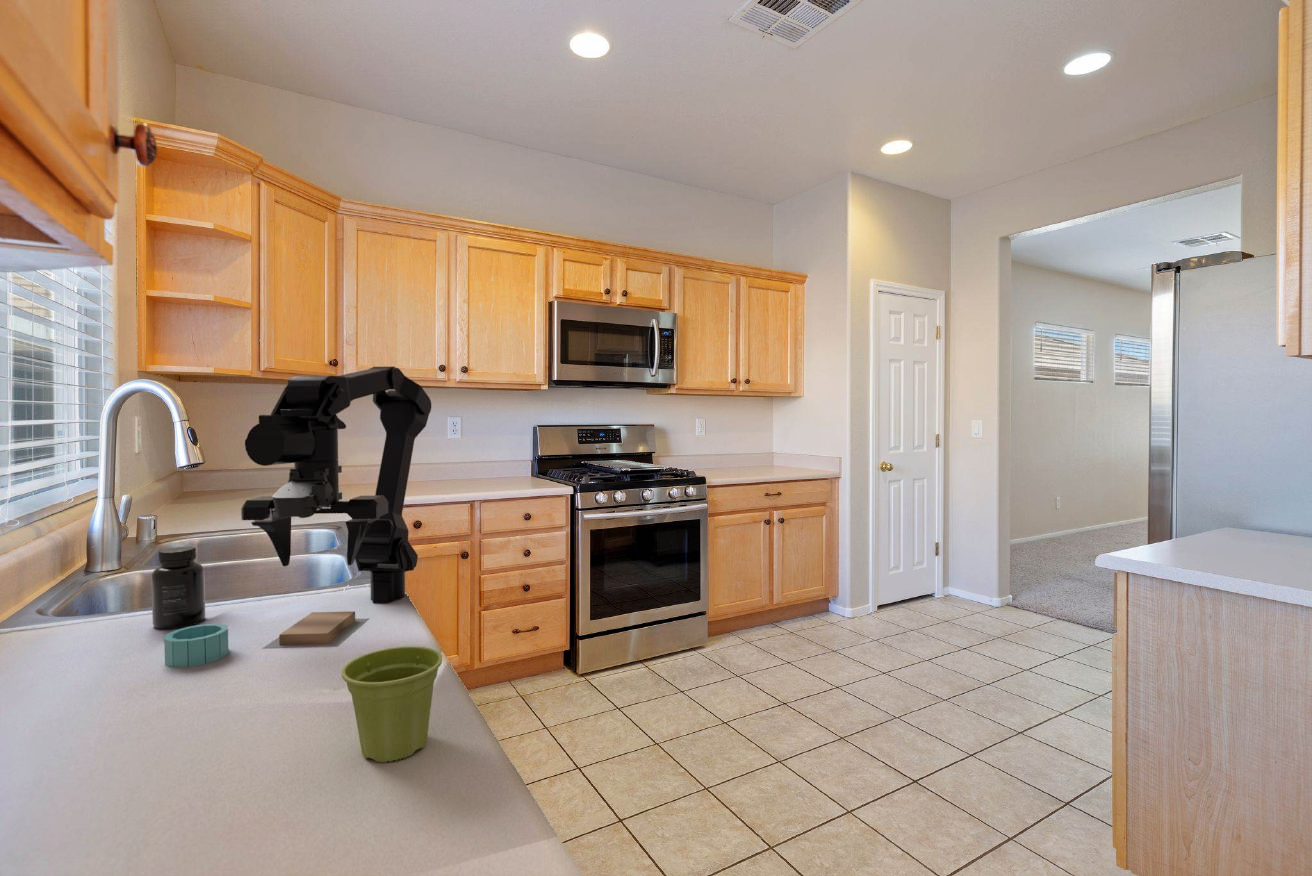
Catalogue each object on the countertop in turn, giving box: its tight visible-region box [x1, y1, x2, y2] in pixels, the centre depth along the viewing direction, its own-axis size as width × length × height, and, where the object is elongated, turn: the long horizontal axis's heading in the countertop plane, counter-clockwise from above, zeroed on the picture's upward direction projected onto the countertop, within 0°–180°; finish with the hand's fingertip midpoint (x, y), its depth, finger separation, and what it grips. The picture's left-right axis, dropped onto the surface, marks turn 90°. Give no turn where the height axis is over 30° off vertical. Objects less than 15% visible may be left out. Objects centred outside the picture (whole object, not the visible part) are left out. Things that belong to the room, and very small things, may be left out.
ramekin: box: [163, 623, 229, 668], centre depth 84 cm, size 7×7×4 cm
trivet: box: [262, 618, 369, 649], centre depth 93 cm, size 12×10×1 cm
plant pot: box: [340, 645, 443, 763], centre depth 63 cm, size 9×9×9 cm
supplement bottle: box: [150, 546, 206, 630], centre depth 101 cm, size 7×7×12 cm
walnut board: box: [278, 610, 356, 645], centre depth 93 cm, size 10×6×2 cm, turn 5°
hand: (318, 565), depth 93 cm, fingers open, 9 cm apart
